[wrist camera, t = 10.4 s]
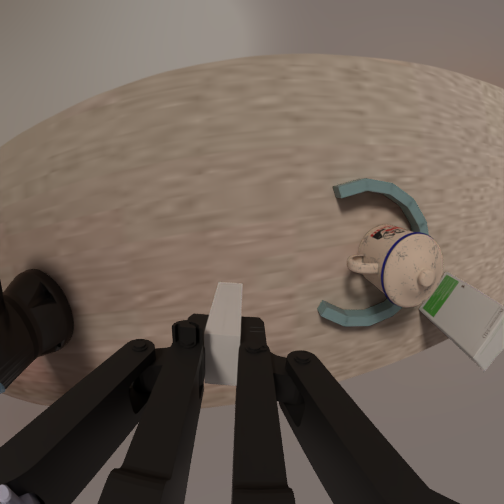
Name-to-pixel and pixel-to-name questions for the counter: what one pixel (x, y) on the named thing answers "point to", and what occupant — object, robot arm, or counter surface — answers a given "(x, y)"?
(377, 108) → the counter surface
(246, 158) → the counter surface
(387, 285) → the teacup with lid
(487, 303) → the skincare box
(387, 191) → the open curved ring
